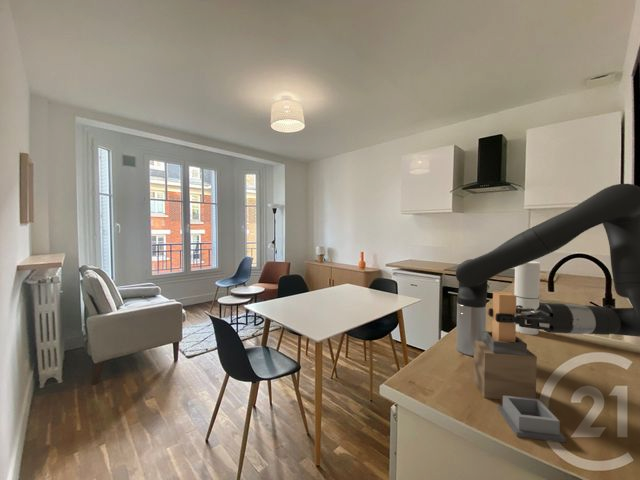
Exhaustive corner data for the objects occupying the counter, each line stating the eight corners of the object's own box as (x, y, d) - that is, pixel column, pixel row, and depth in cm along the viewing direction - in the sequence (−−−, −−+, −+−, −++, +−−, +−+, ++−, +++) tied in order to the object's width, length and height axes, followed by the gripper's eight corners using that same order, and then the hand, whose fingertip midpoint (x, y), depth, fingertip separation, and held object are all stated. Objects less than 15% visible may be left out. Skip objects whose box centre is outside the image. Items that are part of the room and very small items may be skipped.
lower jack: (497, 409, 67) (498, 393, 67) (539, 413, 66) (539, 397, 65) (516, 436, 58) (517, 418, 58) (565, 442, 57) (565, 423, 57)
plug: (492, 344, 77) (493, 291, 76) (507, 345, 76) (509, 292, 75) (498, 350, 73) (499, 295, 72) (515, 351, 72) (516, 295, 71)
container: (527, 327, 122) (529, 260, 121) (543, 334, 114) (545, 263, 113) (508, 327, 122) (510, 260, 121) (523, 335, 114) (525, 263, 112)
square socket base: (473, 380, 80) (474, 330, 79) (519, 385, 77) (520, 333, 77) (484, 397, 72) (485, 341, 71) (535, 402, 70) (537, 345, 69)
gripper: (548, 297, 78) (482, 295, 81) (586, 312, 64) (504, 308, 67) (547, 323, 78) (481, 319, 82) (585, 343, 64) (504, 338, 68)
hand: (492, 314), depth 74 cm, fingers closed on plug, 4 cm apart
